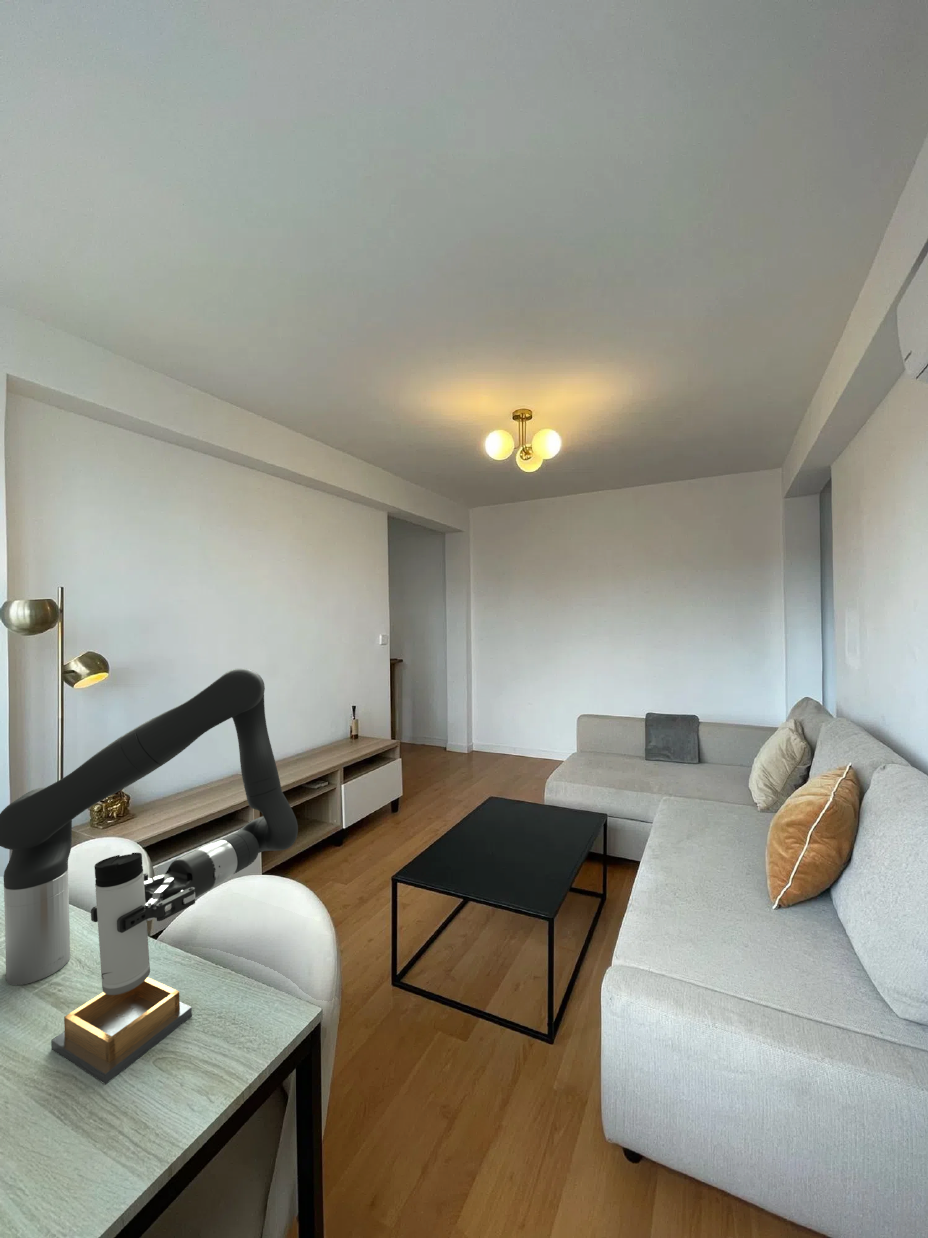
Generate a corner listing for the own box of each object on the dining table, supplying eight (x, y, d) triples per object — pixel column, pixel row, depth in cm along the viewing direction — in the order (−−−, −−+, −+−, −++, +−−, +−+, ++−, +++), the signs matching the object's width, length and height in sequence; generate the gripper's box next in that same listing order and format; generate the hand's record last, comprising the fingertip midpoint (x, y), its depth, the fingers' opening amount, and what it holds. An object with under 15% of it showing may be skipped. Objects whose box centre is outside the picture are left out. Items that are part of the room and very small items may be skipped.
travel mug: (93, 1002, 74) (84, 870, 74) (112, 972, 80) (104, 850, 80) (141, 992, 76) (132, 862, 76) (155, 963, 82) (147, 843, 82)
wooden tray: (51, 1050, 75) (50, 1020, 75) (139, 991, 87) (138, 965, 87) (105, 1084, 69) (104, 1052, 69) (191, 1016, 81) (191, 988, 81)
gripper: (177, 842, 94) (77, 887, 79) (230, 855, 88) (132, 907, 73) (178, 882, 94) (79, 934, 79) (231, 898, 88) (134, 958, 73)
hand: (105, 921), depth 76 cm, fingers closed on travel mug, 6 cm apart
